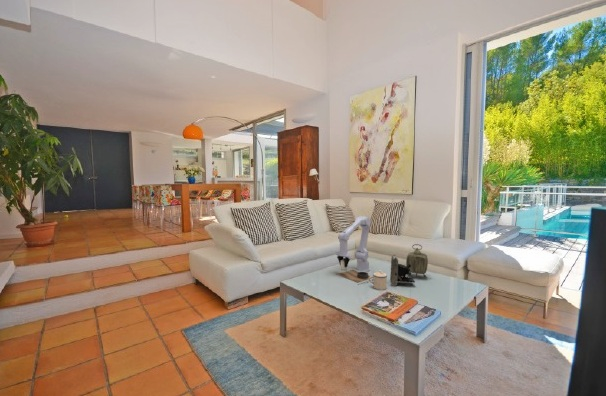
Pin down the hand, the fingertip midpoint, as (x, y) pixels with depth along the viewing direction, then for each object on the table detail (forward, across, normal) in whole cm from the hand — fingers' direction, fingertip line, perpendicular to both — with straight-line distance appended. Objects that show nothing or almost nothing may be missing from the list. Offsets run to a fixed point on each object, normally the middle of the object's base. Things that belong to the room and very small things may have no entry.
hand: (343, 266), depth 210 cm
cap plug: (+3, 0, 0) cm, 3 cm away
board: (+8, +7, +5) cm, 12 cm away
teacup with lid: (+8, +29, +4) cm, 30 cm away
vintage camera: (+8, +36, +22) cm, 43 cm away
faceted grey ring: (+7, +12, +8) cm, 16 cm away
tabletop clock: (+8, +34, +43) cm, 55 cm away
